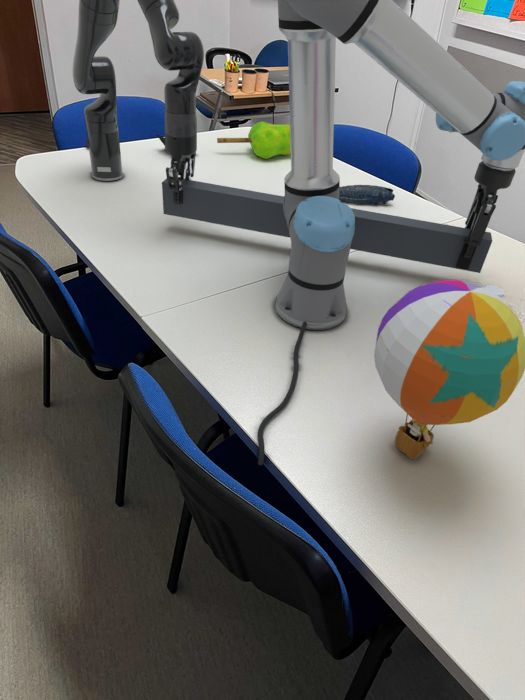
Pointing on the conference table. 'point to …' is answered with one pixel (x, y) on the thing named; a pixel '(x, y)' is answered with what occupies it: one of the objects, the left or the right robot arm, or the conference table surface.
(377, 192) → the fish model
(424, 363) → the toy
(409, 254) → the bar
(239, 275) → the conference table surface
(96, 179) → the left robot arm
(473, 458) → the conference table surface
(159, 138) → the handheld gaming console
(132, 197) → the conference table surface
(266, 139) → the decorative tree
